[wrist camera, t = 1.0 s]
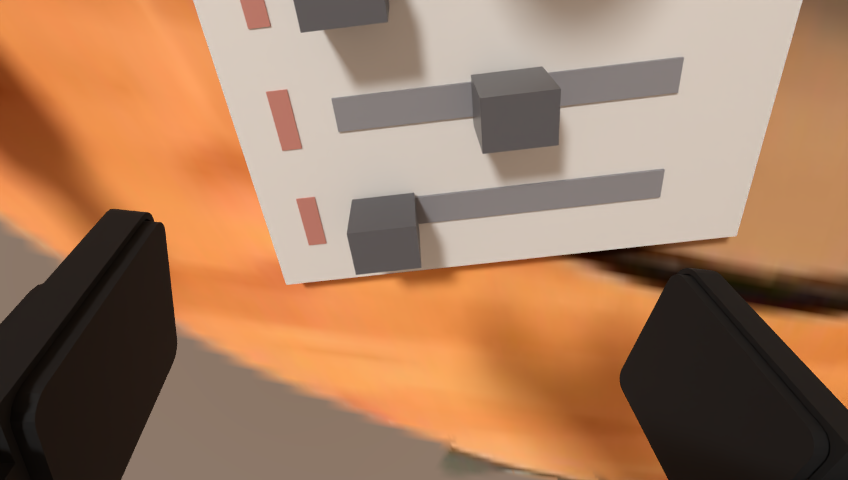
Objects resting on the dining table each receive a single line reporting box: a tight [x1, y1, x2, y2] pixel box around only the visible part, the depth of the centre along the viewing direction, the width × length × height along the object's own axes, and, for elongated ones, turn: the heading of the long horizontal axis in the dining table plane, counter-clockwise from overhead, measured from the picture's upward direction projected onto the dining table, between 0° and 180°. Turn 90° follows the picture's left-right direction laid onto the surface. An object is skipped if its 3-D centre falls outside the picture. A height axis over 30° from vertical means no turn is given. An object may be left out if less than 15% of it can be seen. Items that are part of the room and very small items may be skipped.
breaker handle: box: [471, 66, 561, 154], centre depth 28 cm, size 4×3×4 cm
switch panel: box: [193, 0, 802, 285], centre depth 29 cm, size 32×24×6 cm
